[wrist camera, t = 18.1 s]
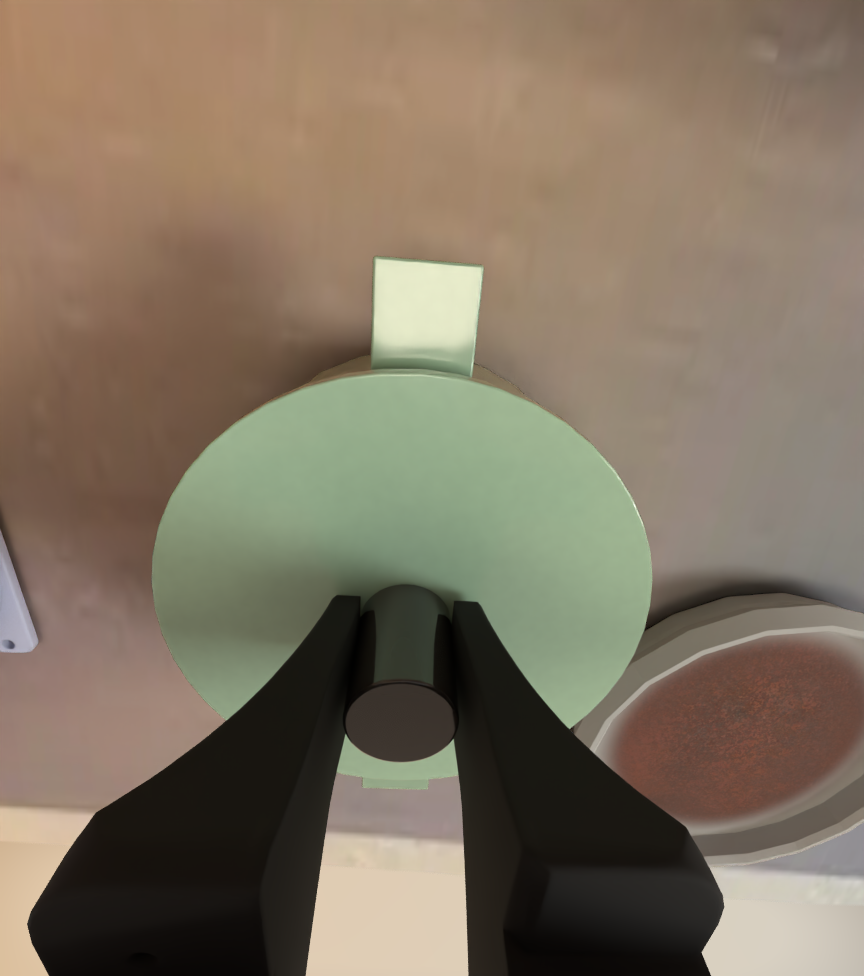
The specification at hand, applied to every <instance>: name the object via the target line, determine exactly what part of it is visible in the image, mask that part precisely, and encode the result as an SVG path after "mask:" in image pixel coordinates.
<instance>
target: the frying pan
mask: <svg viewBox="0 0 864 976" xmlns="http://www.w3.org/2000/svg"><path fill="white" fill-rule="evenodd" d="M574 735H575V736H576V737H577V738H578V739H580V740H581V741H582V742H583V743H584V744H585V745H586V746H587V747H588V748H589V749H590V750H591V751H592V752H593V753H594V754H595V755H597V756H598V757H599V758H600V759H601V760H602V761H603V762H604V763H605V764H606V765H607V766H608V767H610V768H611V769H612V770H613V771H614V772H615V773H617V774H618V775H619V776H620V777H621V778H623V779H624V780H625V781H626V782H627V783H629V784H630V785H631V786H632V787H633V788H635V789H636V790H637V791H638V792H640V793H641V794H642V795H644V796H645V797H646V798H648V799H649V800H651V801H652V802H653V803H655V804H656V805H657V806H659V807H660V808H661V809H663V810H664V811H665V812H667V813H668V814H669V815H671V816H672V817H673V818H675V819H676V820H678V821H679V822H680V823H682V824H683V825H684V826H686V828H687V829H688V831H689V833H690V835H691V837H692V838H693V840H694V842H695V843H696V845H697V846H698V848H699V850H700V851H701V853H702V855H703V857H704V859H705V861H706V862H707V864H708V866H709V867H723V866H737V865H750V864H755V863H759V862H763V861H767V860H771V859H775V858H779V857H783V856H788V855H792V854H796V853H800V852H802V851H805V850H807V849H809V848H812V847H814V846H817V845H819V844H821V843H824V842H826V841H828V840H831V839H833V838H835V837H838V836H840V835H843V834H845V833H847V832H849V831H851V830H852V829H854V828H855V827H857V826H858V825H860V824H861V823H863V822H864V613H860V612H855V611H851V610H846V609H843V608H841V607H838V606H836V605H834V604H831V603H828V602H824V601H819V600H814V599H810V598H805V597H800V596H796V595H791V594H787V593H771V594H758V595H745V596H732V597H725V598H722V599H719V600H716V601H713V602H710V603H707V604H704V605H701V606H697V607H694V608H691V609H688V610H685V611H682V612H679V613H676V614H673V615H671V616H669V617H668V618H666V619H664V620H663V621H661V622H659V623H658V624H656V625H654V626H653V627H651V628H649V629H648V630H646V631H644V632H643V634H642V637H641V639H640V642H639V644H638V646H637V649H636V651H635V654H634V656H633V657H632V659H631V661H630V662H629V664H628V666H627V668H626V669H625V671H624V673H623V674H622V676H621V677H620V679H619V680H618V681H617V683H616V684H615V685H614V686H613V688H612V689H611V690H610V692H609V693H608V694H607V696H606V697H605V698H604V699H603V700H602V701H601V702H600V703H599V704H598V705H597V706H596V707H595V708H594V709H593V710H592V711H591V712H590V713H589V714H588V715H587V716H585V717H584V718H583V719H582V720H580V721H579V722H578V723H577V724H575V725H574Z"/></svg>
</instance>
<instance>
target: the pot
mask: <svg viewBox="0 0 864 976" xmlns="http://www.w3.org/2000/svg"><path fill="white" fill-rule="evenodd" d="M483 274H484V266H483V265H481V264H471V263H458V262H446V261H434V260H422V259H410V258H397V257H385V256H374V257H373V272H372V321H371V354H370V355H366V356H362V357H359V358H355V359H352V360H350V361H348V362H345V363H343V364H341V365H338V366H336V367H333V368H330V369H327V370H324V371H322V372H320V373H319V374H317V375H316V376H315V377H314V378H313V379H312V380H311V381H310V382H309V383H311V382H315V381H319V380H322V379H326V378H330V377H333V376H337V375H341V374H346V373H353V372H361V371H369V370H376V369H425V370H433V371H440V372H447V373H455V374H461V375H464V376H468V377H472V378H475V379H479V380H483V381H486V382H490V383H493V384H497V385H499V386H502V387H504V388H506V389H509V390H511V391H513V392H515V393H518V394H520V395H522V396H525V395H524V394H523V393H522V392H521V390H520V389H519V388H518V387H516V386H515V385H514V384H512V383H510V382H508V381H506V380H504V379H502V378H501V377H499V376H497V375H496V374H494V373H492V372H491V371H489V370H488V369H486V368H484V367H481V366H479V365H477V364H475V363H474V357H475V348H476V339H477V329H478V320H479V311H480V301H481V292H482V283H483ZM525 397H526V396H525ZM428 784H429V779H426V780H383V779H369V778H363V777H362V787H363V788H383V789H421V790H427V789H428Z"/></svg>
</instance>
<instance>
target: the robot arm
mask: <svg viewBox="0 0 864 976" xmlns="http://www.w3.org/2000/svg"><path fill="white" fill-rule="evenodd" d="M360 601H361V596H347V595H336V596H335V597H334V598H332V600H331V602H330V603H329V605H328V607H327V608H326V610H325V611H324V613H323V614H322V616H321V617H320V619H319V620H318V621H317V623H316V624H315V626H314V627H313V628H312V630H311V631H310V632H309V634H308V635H307V636H306V637H305V639H304V640H303V641H302V643H301V644H300V645H299V646H298V648H297V649H296V650H295V651H294V653H293V654H292V655H291V656H290V657H289V658H288V660H287V661H286V662H285V663H284V664H283V665H282V666H281V667H280V669H279V670H278V671H277V672H276V673H275V674H274V675H273V676H272V678H271V679H270V680H269V681H268V682H267V683H266V684H265V685H264V686H263V687H262V688H261V689H260V690H259V691H258V692H257V693H256V694H255V695H254V696H253V697H252V698H251V699H250V700H249V701H248V702H247V703H246V704H244V705H243V706H242V707H241V708H240V709H239V710H238V711H237V712H236V713H234V714H233V715H232V716H231V717H230V718H229V719H228V720H226V721H225V722H224V723H223V724H222V725H221V726H220V727H218V728H217V729H216V730H215V731H214V732H212V733H211V734H210V735H209V736H208V737H206V738H205V739H204V740H203V741H201V742H200V743H199V744H197V745H196V746H195V747H193V748H192V749H191V750H189V751H188V752H187V753H185V754H184V755H182V756H181V757H180V758H178V759H177V760H176V761H174V762H173V763H172V764H170V765H169V766H168V767H166V768H165V769H164V770H162V771H161V772H159V773H158V774H156V775H155V776H154V777H152V778H151V779H149V780H147V781H146V782H144V783H143V784H141V785H140V786H138V787H136V788H135V789H133V790H132V791H130V792H129V793H127V794H125V795H124V796H122V797H121V798H119V799H118V800H116V801H114V802H113V803H111V804H110V805H108V806H106V807H105V808H103V809H101V810H100V811H98V812H96V813H95V815H94V816H93V818H92V819H91V820H90V822H89V823H88V825H87V826H86V827H85V829H84V830H83V831H82V833H81V834H80V835H79V836H78V838H77V839H76V841H75V842H74V843H73V845H72V846H71V848H70V849H69V851H68V852H67V854H66V855H65V857H64V858H63V860H62V862H61V863H60V865H59V866H58V868H57V870H56V871H55V873H54V875H53V876H52V878H51V880H50V881H49V883H48V885H47V886H46V888H45V890H44V891H43V893H42V894H41V896H40V898H39V899H38V901H37V903H36V904H35V906H34V908H33V909H32V911H31V913H30V917H29V920H28V923H27V925H28V930H29V934H30V937H31V941H32V944H33V946H34V948H35V950H36V952H37V954H38V956H39V957H40V959H41V961H42V963H43V965H44V967H45V969H46V971H47V973H48V975H49V976H305V975H306V967H307V960H308V952H309V945H310V938H311V931H312V924H313V923H312V922H313V916H314V909H315V902H316V894H317V888H318V881H319V874H320V867H321V860H322V853H323V846H324V839H325V833H326V826H327V819H328V813H329V806H330V800H331V795H332V790H333V785H334V781H335V776H336V772H337V768H338V764H339V760H340V755H341V751H342V747H343V743H344V739H345V735H346V733H345V731H344V727H343V721H342V717H343V710H344V704H345V699H346V693H347V687H348V682H349V676H350V670H351V665H352V659H353V654H354V649H355V644H356V639H357V633H358V627H359V622H360ZM451 626H452V638H453V649H454V660H455V672H456V683H457V695H458V706H459V727H458V730H457V732H456V735H455V737H454V746H455V753H456V760H457V768H458V775H459V782H460V791H461V801H462V816H463V837H464V859H465V882H466V883H465V884H466V909H467V940H468V972H469V976H711V975H710V972H709V970H708V967H707V965H706V963H705V960H704V958H703V955H702V953H701V952H702V950H703V949H704V947H705V945H706V944H707V942H708V940H709V939H710V937H711V935H712V934H713V932H714V930H715V929H716V927H717V925H718V923H719V921H720V918H721V915H722V912H723V909H724V902H723V895H722V893H721V891H720V889H719V887H718V885H717V883H716V881H715V879H714V876H713V874H712V872H711V870H710V868H709V866H708V864H707V862H706V861H705V859H704V857H703V855H702V853H701V851H700V850H699V848H698V846H697V845H696V843H695V842H694V840H693V838H692V837H691V835H690V833H689V831H688V829H687V828H686V826H684V825H683V824H682V823H680V822H679V821H678V820H676V819H675V818H673V817H672V816H671V815H669V814H668V813H667V812H665V811H664V810H663V809H661V808H660V807H659V806H657V805H656V804H655V803H653V802H652V801H651V800H649V799H648V798H646V797H645V796H644V795H642V794H641V793H640V792H638V791H637V790H636V789H635V788H633V787H632V786H631V785H630V784H629V783H627V782H626V781H625V780H624V779H623V778H621V777H620V776H619V775H618V774H617V773H615V772H614V771H613V770H612V769H611V768H610V767H608V766H607V765H606V764H605V763H604V762H603V761H602V760H601V759H600V758H599V757H598V756H597V755H595V754H594V753H593V752H592V751H591V750H590V749H589V748H588V747H587V746H586V745H585V744H584V743H583V742H582V741H581V740H580V739H578V738H577V737H576V736H575V735H574V734H573V732H572V731H571V730H570V729H569V728H568V727H567V726H566V725H565V724H564V723H563V722H562V721H561V720H560V719H559V718H558V716H557V715H556V714H555V713H554V712H553V711H552V710H551V709H550V707H549V706H548V705H547V704H546V703H545V701H544V700H543V699H542V698H541V697H540V695H539V694H538V693H537V692H536V690H535V689H534V688H533V686H532V685H531V684H530V682H529V681H528V680H527V679H526V677H525V676H524V675H523V673H522V672H521V670H520V669H519V668H518V666H517V665H516V663H515V662H514V660H513V659H512V657H511V656H510V654H509V653H508V651H507V650H506V648H505V647H504V645H503V644H502V642H501V640H500V639H499V637H498V635H497V634H496V632H495V630H494V629H493V627H492V625H491V623H490V622H489V620H488V618H487V616H486V614H485V612H484V610H483V608H482V606H481V605H480V604H479V603H478V602H473V601H454V606H453V615H452V624H451ZM37 645H38V638H37V635H36V632H35V629H34V626H33V623H32V620H31V617H30V614H29V611H28V608H27V606H26V603H25V600H24V597H23V594H22V591H21V588H20V585H19V582H18V579H17V576H16V573H15V570H14V567H13V565H12V562H11V559H10V556H9V553H8V550H7V547H6V544H5V541H4V538H3V535H2V532H1V529H0V652H14V653H28V652H30V651H32V650H33V649H34V648H35V647H36V646H37Z"/></svg>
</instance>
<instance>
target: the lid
mask: <svg viewBox="0 0 864 976" xmlns="http://www.w3.org/2000/svg"><path fill="white" fill-rule="evenodd" d="M151 582H152V590H153V598H154V606H155V611H156V615H157V618H158V622H159V625H160V628H161V632H162V635H163V637H164V639H165V642H166V644H167V646H168V648H169V650H170V652H171V655H172V657H173V659H174V660H175V662H176V664H177V665H178V667H179V668H180V670H181V671H182V673H183V674H184V676H185V678H186V679H187V681H188V682H189V683H190V684H191V685H192V687H193V688H194V689H195V690H196V691H197V693H198V694H199V695H200V696H201V697H202V698H203V700H204V701H205V702H206V703H207V704H208V705H209V706H211V707H212V708H213V709H214V710H215V711H216V712H217V713H218V714H219V715H220V716H221V717H222V718H223V719H225V720H228V719H229V718H230V717H231V716H232V715H233V714H234V713H236V712H237V711H238V710H239V709H240V708H241V707H242V706H243V705H244V704H246V703H247V702H248V701H249V700H250V699H251V698H252V697H253V696H254V695H255V694H256V693H257V692H258V691H259V690H260V689H261V688H262V687H263V686H264V685H265V684H266V683H267V682H268V681H269V680H270V679H271V678H272V676H273V675H274V674H275V673H276V672H277V671H278V670H279V669H280V667H281V666H282V665H283V664H284V663H285V662H286V661H287V660H288V658H289V657H290V656H291V655H292V654H293V653H294V651H295V650H296V649H297V648H298V646H299V645H300V644H301V643H302V641H303V640H304V639H305V637H306V636H307V635H308V634H309V632H310V631H311V630H312V628H313V627H314V626H315V624H316V623H317V621H318V620H319V619H320V617H321V616H322V614H323V613H324V611H325V610H326V608H327V607H328V605H329V603H330V602H331V600H332V598H334V597H335V596H336V595H347V596H361V601H360V622H359V627H358V633H357V639H356V644H355V649H354V654H353V659H352V665H351V670H350V676H349V682H348V687H347V693H346V699H345V704H344V710H343V717H342V721H343V727H344V731H345V733H346V735H345V739H344V743H343V747H342V751H341V755H340V760H339V764H338V768H337V772H336V773H340V774H344V775H350V776H357V777H363V778H369V779H383V780H426V779H436V778H446V777H452V776H457V775H458V768H457V760H456V753H455V746H454V737H455V735H456V732H457V730H458V727H459V706H458V695H457V683H456V672H455V660H454V649H453V638H452V626H451V624H452V615H453V606H454V601H473V602H478V603H479V604H480V605H481V606H482V608H483V610H484V612H485V614H486V616H487V618H488V620H489V622H490V623H491V625H492V627H493V629H494V630H495V632H496V634H497V635H498V637H499V639H500V640H501V642H502V644H503V645H504V647H505V648H506V650H507V651H508V653H509V654H510V656H511V657H512V659H513V660H514V662H515V663H516V665H517V666H518V668H519V669H520V670H521V672H522V673H523V675H524V676H525V677H526V679H527V680H528V681H529V682H530V684H531V685H532V686H533V688H534V689H535V690H536V692H537V693H538V694H539V695H540V697H541V698H542V699H543V700H544V701H545V703H546V704H547V705H548V706H549V707H550V709H551V710H552V711H553V712H554V713H555V714H556V715H557V716H558V718H559V719H560V720H561V721H562V722H563V723H564V724H565V725H566V726H567V727H568V728H569V729H570V728H572V727H573V726H574V725H575V724H577V723H578V722H579V721H580V720H582V719H583V718H584V717H585V716H587V715H588V714H589V713H590V712H591V711H592V710H593V709H594V708H595V707H596V706H597V705H598V704H599V703H600V702H601V701H602V700H603V699H604V698H605V697H606V696H607V694H608V693H609V692H610V690H611V689H612V688H613V686H614V685H615V684H616V683H617V681H618V680H619V679H620V677H621V676H622V674H623V673H624V671H625V669H626V668H627V666H628V664H629V662H630V661H631V659H632V657H633V656H634V654H635V651H636V649H637V646H638V644H639V642H640V639H641V637H642V634H643V632H644V629H645V624H646V620H647V616H648V612H649V608H650V601H651V589H652V567H651V555H650V548H649V544H648V540H647V536H646V532H645V528H644V524H643V521H642V519H641V516H640V514H639V512H638V509H637V507H636V505H635V503H634V500H633V498H632V496H631V494H630V492H629V491H628V489H627V488H626V486H625V485H624V483H623V482H622V480H621V478H620V477H619V475H618V474H617V472H616V471H615V469H614V468H613V467H612V466H611V465H610V464H609V462H608V461H607V460H606V459H605V458H604V457H603V456H602V455H601V453H600V452H599V451H598V450H597V449H596V448H595V447H594V446H593V444H592V443H591V442H590V441H589V440H588V439H586V438H585V437H584V436H583V435H582V434H580V433H579V432H578V431H577V430H576V429H574V428H573V427H572V426H571V425H570V424H568V423H567V422H566V421H565V420H563V419H562V418H561V417H559V416H558V415H556V414H554V413H553V412H551V411H550V410H548V409H546V408H545V407H543V406H541V405H540V404H538V403H536V402H535V401H533V400H531V399H529V398H527V397H525V396H522V395H520V394H518V393H515V392H513V391H511V390H509V389H506V388H504V387H502V386H499V385H497V384H493V383H490V382H486V381H483V380H479V379H475V378H472V377H468V376H464V375H461V374H455V373H447V372H440V371H433V370H425V369H376V370H369V371H361V372H353V373H346V374H341V375H337V376H333V377H330V378H326V379H322V380H319V381H315V382H311V383H307V384H305V385H302V386H300V387H298V388H295V389H293V390H291V391H288V392H286V393H284V394H281V395H279V396H277V397H274V398H272V399H270V400H269V401H267V402H265V403H264V404H262V405H260V406H259V407H257V408H256V409H254V410H252V411H251V412H249V413H247V414H246V415H244V416H242V417H241V418H240V419H238V420H237V421H236V422H235V423H234V424H232V425H231V426H230V427H229V428H228V429H226V430H225V431H224V432H223V433H222V434H221V435H219V436H218V437H217V438H216V439H215V440H213V441H212V442H211V443H210V444H209V445H208V446H207V447H206V448H205V449H204V450H203V452H202V453H201V454H200V455H199V456H198V457H197V458H196V460H195V461H194V462H193V463H192V464H191V465H190V466H189V468H188V469H187V470H186V472H185V473H184V475H183V477H182V478H181V480H180V481H179V483H178V485H177V486H176V488H175V490H174V491H173V493H172V494H171V496H170V498H169V501H168V503H167V506H166V508H165V511H164V513H163V516H162V518H161V521H160V523H159V526H158V531H157V536H156V540H155V545H154V550H153V558H152V581H151Z"/></svg>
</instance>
